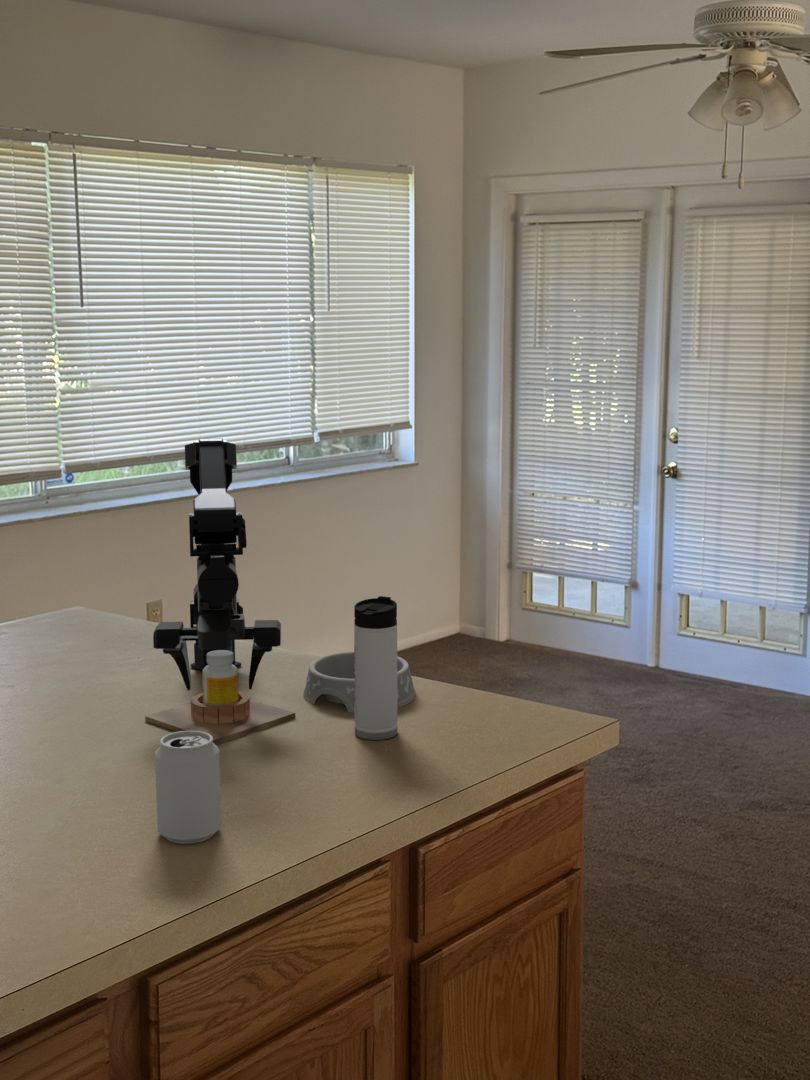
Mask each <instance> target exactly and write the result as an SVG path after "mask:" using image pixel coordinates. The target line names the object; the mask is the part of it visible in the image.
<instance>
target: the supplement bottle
mask: <svg viewBox="0 0 810 1080" xmlns="http://www.w3.org/2000/svg"><path fill="white" fill-rule="evenodd" d="M206 661H207V663H208V664H209V665H207V666H206V667H205V668H204V669H203V670H202V674H201V676H202V678H201V679H202V693H203V704H205V705H214V706H221V705H230V704H234V703H237V702H238V691H239V670H238V667H236V666H235V665H233V664H232V663H233V661H234V656H233V652H232V651H228V650H215V651H210V652H208V653H207V660H206Z"/></svg>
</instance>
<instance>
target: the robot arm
mask: <svg viewBox="0 0 810 1080" xmlns="http://www.w3.org/2000/svg"><path fill="white" fill-rule="evenodd" d="M237 460H238V459H237V444H235V443H233V442H229V441H227V439H223V437H221V438H220V437H217V438H216V437H215V438H214V437H213V438H211V437H210V438H208V437H207V438H199V439H197V440H195V441H193V442H191V443H188V444H185V445H184V466H185V467H184V469H185V471H189V481H190V483H191V486H192V487H193V488H194V490H195V492H196V493H197V497H195V498H194V499H193V501H192V503H193V513H188V522H189V523H188V524H189V525H188V526H189V556H190V557H197V558H196V576H197V577H196V579H197V583H196V585H194V588H193V601H192V600H190V601H189V618H190V619H189V620H190V623H189V624H190V627H184V626H185V625H184V621H160V622H159V623H158V624H156V627H155V629H154V631H153V636H152V637H153V638H152V641H153V649H155V650H156V649H157V650H162V653H163V654H168V655H170V657H172V658H173V660H174V662H175V664H176V665H177V668H178V670H179V672H180V674H181V678H182V680H183V683H184V684H185V687H186V691H188V692H189V691H191V689H192V688H191V687H192V684H191V683H192V679H191V678H192V677H191V670H190V667H191V668H193V669H197V670H199V671H203V669H204V668H205V667H206V666H207V665H209V664H208V663H207V661H206V660H207V653H208V652H210V651H215V650H228V651H232V652H233V656H234V661H233V663H232V664H233V665H235V666H236V667H237V668H238V667H241V666H242V662H240V661H236V645H235V644H236V641H237V640H239V641H242V640H253V643H252V647H251V657H250V658H251V659H250V667H249V674H248V675H249V676H248V690H252V689H253V686H254V682H255V678H256V675H257V672H258V670H259V669H258V668H259V667H260V666H259V665H260V663H261V661H262V659H263V657H264V655H265V653H269V652H272V651H273V647H275V648H276V647H281V645H282V643H281V642H282V623H281V622H280V621H279V620H278V619H262V620H261V619H260V620H259V619H257V620H256V619H255V621H254V625H253V626H246V622H245V621H246V620H245V614H244V607H243V606H242V605H241V603H240V601H239V599H237V597H238V596H237V594H238V590H239V587H240V583H239V578H238V572H237V562H236V561H237V560H236V556H243V555H244V549H247V529H246V528H247V527H246V519H244V517H243V513H241V512H240V511H239V512H237V504H236V499H235V498H234V497H233V496H231V495H230V494H229V493H228V492H227V491H228V489H229V488H230V485H231V484H232V483H233V470H237V467H238V465H237V463H238V461H237ZM194 544H195V545H196V546H194ZM237 544H238V546H237ZM194 547H196V548H194ZM188 641H189V642H190V641H195V642H194V644H193V651H194V653H193V654H194V655H193V657H194V662H192V663H189V662H190V660H189V654H188V653H189V652H188V646H187V642H188Z"/></svg>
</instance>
